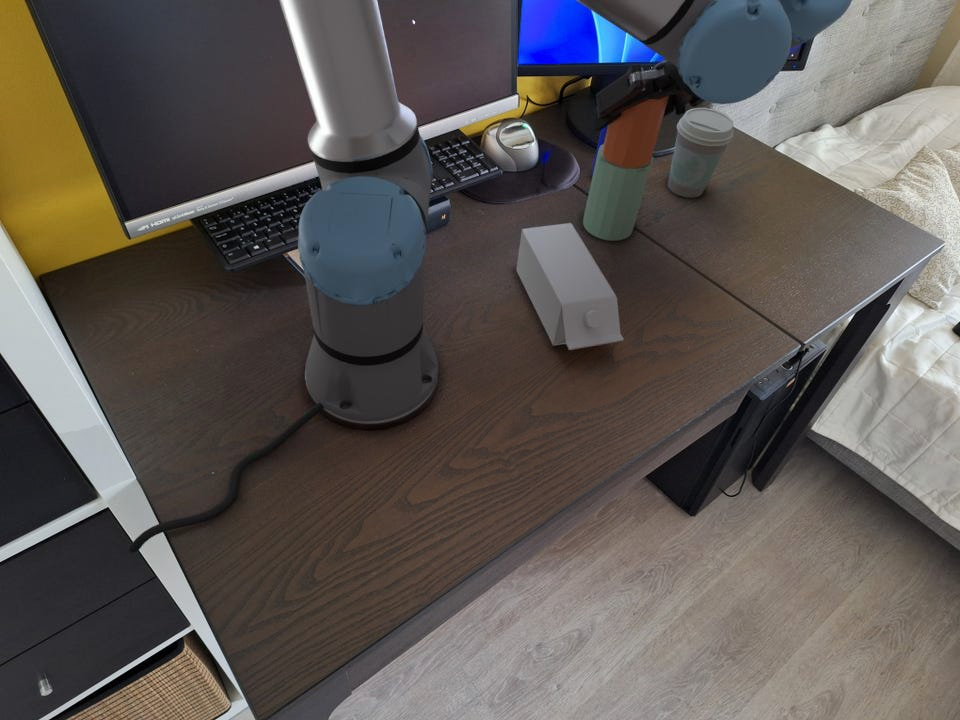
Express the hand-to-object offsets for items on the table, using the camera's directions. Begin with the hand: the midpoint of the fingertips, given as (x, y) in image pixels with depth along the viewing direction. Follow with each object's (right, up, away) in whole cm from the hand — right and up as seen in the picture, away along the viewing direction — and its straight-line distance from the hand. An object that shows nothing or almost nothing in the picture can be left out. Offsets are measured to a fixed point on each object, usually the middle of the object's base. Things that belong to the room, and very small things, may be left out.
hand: (621, 118), depth 92 cm
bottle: (0, -13, +9) cm, 16 cm away
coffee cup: (+14, -5, +18) cm, 23 cm away
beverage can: (+1, -3, +18) cm, 18 cm away
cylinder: (+1, -5, 0) cm, 5 cm away
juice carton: (-11, -18, -1) cm, 21 cm away
